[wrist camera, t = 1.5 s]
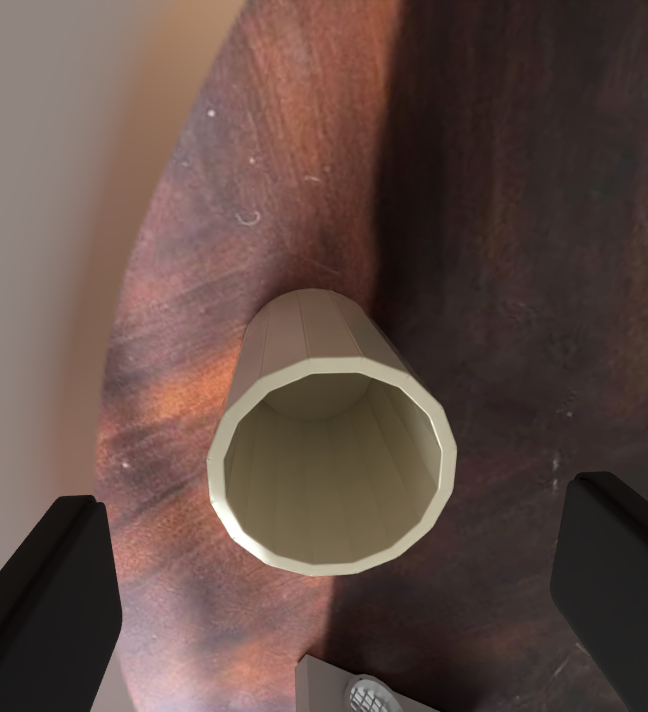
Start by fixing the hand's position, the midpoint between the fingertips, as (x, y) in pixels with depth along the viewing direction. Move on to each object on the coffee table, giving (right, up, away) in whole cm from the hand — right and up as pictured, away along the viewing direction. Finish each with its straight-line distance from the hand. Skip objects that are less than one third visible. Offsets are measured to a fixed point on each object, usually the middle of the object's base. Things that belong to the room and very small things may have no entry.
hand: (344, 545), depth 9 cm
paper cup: (-1, +4, +10) cm, 11 cm away
